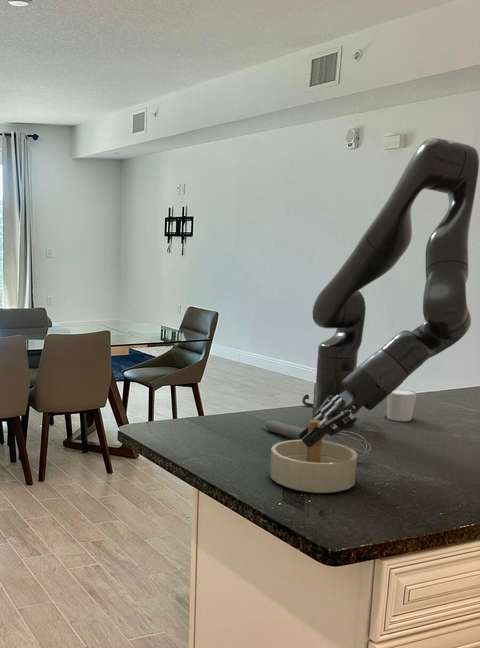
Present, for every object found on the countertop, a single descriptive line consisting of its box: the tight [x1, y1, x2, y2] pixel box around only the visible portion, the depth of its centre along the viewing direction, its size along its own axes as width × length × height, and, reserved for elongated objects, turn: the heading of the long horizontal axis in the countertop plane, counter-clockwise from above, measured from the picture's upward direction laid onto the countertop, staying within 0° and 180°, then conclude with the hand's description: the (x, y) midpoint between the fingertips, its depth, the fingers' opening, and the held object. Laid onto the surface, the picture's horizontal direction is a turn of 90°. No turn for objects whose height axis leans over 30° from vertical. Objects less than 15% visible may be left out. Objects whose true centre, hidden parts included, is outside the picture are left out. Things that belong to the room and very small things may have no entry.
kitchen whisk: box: [263, 419, 372, 463], centre depth 157 cm, size 6×34×6 cm, turn 22°
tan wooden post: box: [306, 418, 323, 463], centre depth 135 cm, size 4×4×11 cm
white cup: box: [386, 388, 417, 422], centre depth 180 cm, size 7×7×7 cm
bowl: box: [269, 439, 359, 494], centre depth 135 cm, size 16×16×6 cm
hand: (303, 441), depth 134 cm, fingers closed on tan wooden post, 2 cm apart
